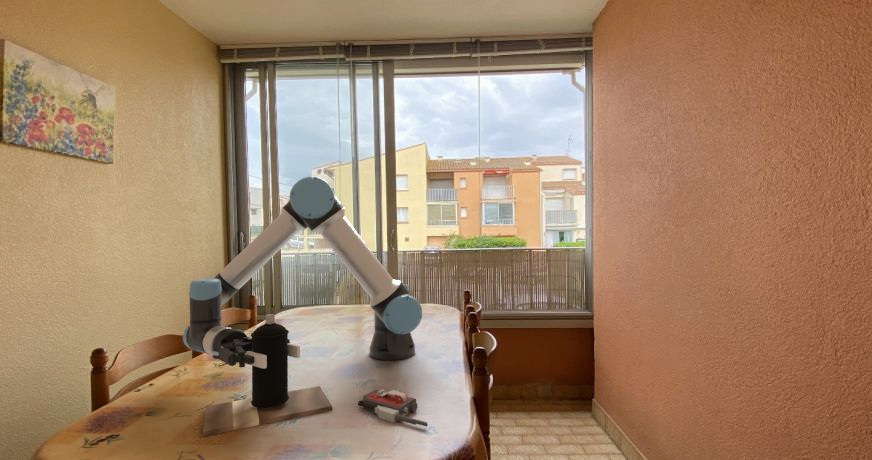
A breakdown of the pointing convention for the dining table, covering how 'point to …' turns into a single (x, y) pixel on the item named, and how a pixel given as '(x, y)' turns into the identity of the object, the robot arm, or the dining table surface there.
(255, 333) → the aerosol can
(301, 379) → the dining table surface
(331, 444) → the dining table surface
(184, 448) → the dining table surface
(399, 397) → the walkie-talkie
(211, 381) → the dining table surface
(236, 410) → the board
